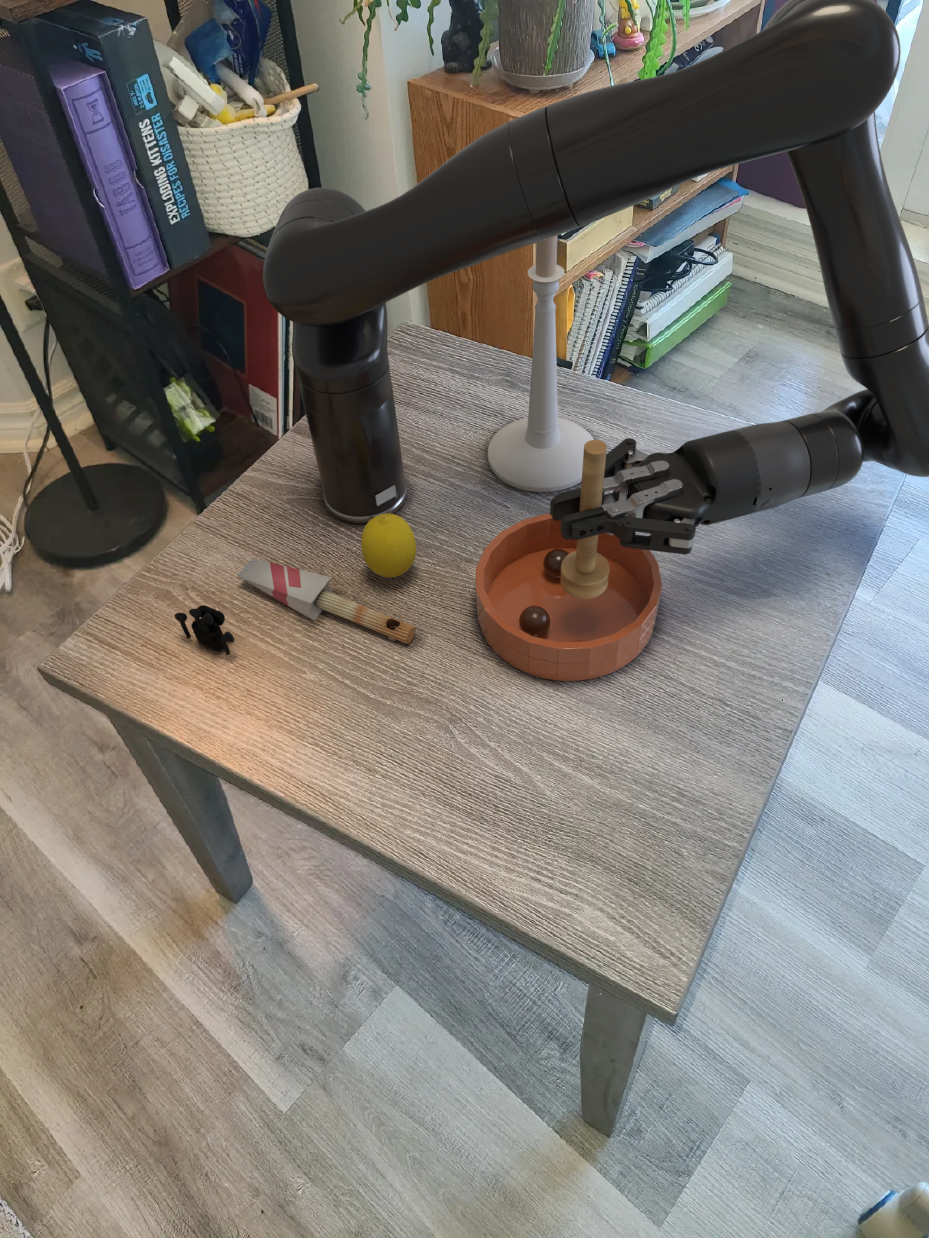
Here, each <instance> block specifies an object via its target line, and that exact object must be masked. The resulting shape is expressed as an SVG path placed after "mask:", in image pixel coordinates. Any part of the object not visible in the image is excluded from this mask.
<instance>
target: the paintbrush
mask: <svg viewBox="0 0 929 1238" xmlns="http://www.w3.org/2000/svg"><path fill="white" fill-rule="evenodd" d="M236 577H238V578H240V579H241V580H243V581H245V582H246V583H248V584H250V585H251V586H253V587H255V588H256V589H258V590H260V591H262V592H263V593H265V594H267V595H269V596H270V597H272V598H273V599H275V600H277V601H279V602H281V603H282V604H284V605H286V606H288V607H289V608H291V609H293V610H295V611H296V612H298V613H299V614H301V615H303V616H305V617H306V618H308V619H310V620H312V621H313V622H315V621H316V620H317V619H318V617H319V616H320V615H321V613H322V612H323V611H325V612H328V613H330V614H333V615H336V616H338V617H341V618H344V619H346V620H348V621H351V622H353V623H355V624H358V625H360V626H363V627H364V628H366V629H367V628H368V629H370V630H372V631H374V632H377V633H380V634H381V635H384V636H387V637H388V638H391V639H394V640H396V641H399V642H401V643H403V644H405V645H406V644H407V645H408V644H410V643H411V642H412V641H413V639H414V638H415V636H416V627H415V626H414V625H412V624H410V623H406V622H404V621H403V620H400V619H396V618H394V617H392V616H390V615H387V614H385V613H382V612H380V611H377V610H374V609H372V608H369V607H367V606H364V605H362V604H359V603H357V602H355V601H352V600H349V599H347V598H345V597H343V596H340V595H338V594H335V593H334V592H333V590H332V588H331V587H330V582H331V581H332V580H331V579H332V576H328V575H324V574H319V573H315V572H312V571H307V570H303V569H300V568H295V567H290V566H286V565H283V564H279V563H274V562H270V561H266V560H262V559H258V558H254V557H253V558H251V559H250V560H249V561H248V562H247V564H246V565H244V567H243V568H242V569H241V570H240V572H238V574H237V575H236ZM393 628H394V629H393Z"/></svg>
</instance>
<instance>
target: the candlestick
mask: <svg viewBox="0 0 929 1238" xmlns="http://www.w3.org/2000/svg"><path fill="white" fill-rule="evenodd" d="M557 255H558V236H555V237H552V238H549V239H547V240H544V241H541V242H538V243H535V264H534V265H532V266H530V267H529V269H528V270H527V276H528V277H529V279H531V280H532V284H531V286H532V291H533V292H534V293H535V294H536V298H537V301H536V303H535V305H534V309H535V312H534V326H533V327H534V328H533V341H532V342H533V343H532V357H531V370H530V371H531V373H530V386H529V398H528V399H529V401H528V416H527V417H523V418H521V419H518V420H515V421H512V422H510V423H508V424H507V425H505V426H503V427H502V428H501V429H499V430H498V431H497V432H496V433H495V434H494V435H493V436H492V438H491V439H490V441H489V444H488V447H487V461H488V465H489V468H490V470H491V471H492V472H493V474H494V475H495V476H496V477H497V478H498V479H499V480H500V481H502V482H504V483H505V484H507V485H509V486H511V487H514V488H516V489H519V490H523V491H528V492H533V493H534V492H535V493H549V492H550V493H551V492H557V491H562V490H566V489H569V488H571V487H574V486H576V485H578V484H581V482H582V468H583V454H584V445H585V443H586V442H588V441H590V440H595V439H594V437H593V436H592V434H591V433H590V432H589V431H588V430H587V429H585V428H584V427H583V426H581V425H580V424H577V423H576V422H573V421H572V420H568V419H566V418H562V417H559V407H558V405H559V403H558V402H559V401H558V368H557V362H558V361H557V328H556V327H557V326H556V309H557V305H556V304H555V301H554V299H555V295H556V293H557V292H558V291H559V289H560V282H559V280H561V279H562V278H563V277H564V276H565V274H566V273H565V269H564V268H563V267H562V266H561V265H559V264H557V259H558V256H557Z"/></svg>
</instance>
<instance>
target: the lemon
mask: <svg viewBox="0 0 929 1238" xmlns="http://www.w3.org/2000/svg"><path fill="white" fill-rule="evenodd" d="M360 543H361V544H360V545H361V546H360V548H361V553H362V557H363V559H364V563H366V565H367V566H368V568H369V569H370V570H371V571H372V572H374V573H375V574H376V575H378V576H381V577H384V578H396V577H399V576H401V575H404V574H405V573H407V572H408V571H409V569H411V567H412V566H413V564H414V562H415V559H416V553H417V541H416V537H415V533H414V531H413V529H412V527H411V526H410V525H409V523H408V522H407V521H406V520H405V519H404V518H402V517H401V516H399V515H397V514H395V513H393V514H381V515H378V516H376V517H374V518H372V519H371V520H370V521H369V522H368V523H366V524H365V526H364V527H363V531H362V534H361V541H360Z"/></svg>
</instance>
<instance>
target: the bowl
mask: <svg viewBox="0 0 929 1238" xmlns="http://www.w3.org/2000/svg"><path fill="white" fill-rule="evenodd" d="M560 523H561V520H559V521H554V520H553V518H552V517H551V515H550V512H548V513H544V514H540V515H536V516H532V517H528V518H525V519H524V518H523V519H522V520H520V521H518V522H516V523H514V524H512V525H511V526H509V527H508V528H505V529H504V530H502V531H501V532H499V534H497V535H496V536H495V538H493V540H491V542H489V544H488V545H486V546H485V548H484V550H483V551H482V553H481V556H480V559H479V561H478V563H477V565H476V568H475V594H476V612H477V613H476V615H477V620H478V622H479V628H480V631H481V632H482V635H483V637H484V638H485V641H486V642H487V643H488V646H490V647H491V649H492V650H493V651H494V652H495V654H496V655H498V656H499V657H500V658H501V659H502V660H504V661H505V662H506V663H508V664H509V665H511V666H512V667H514V668H516V669H518V670H520V671H522V672H524V673H526V674H529V675H532V676H534V677H538V678H542V679H545V680H552V681H559V682H577V681H579V682H581V681H586V680H593V679H597V678H600V677H604V676H606V675H607V676H608V675H609V674H612V673H614V672H616V671H619V670H620V669H622V668H624V667H625V666H627V665H628V664H629V663H631V662H633V660H635V658H637V657H638V656H639V655H640V653H642V651H643V650H644V649H645V647H646V646H647V645H648V643H649V641H650V639H651V637H652V635H653V632H654V629H655V623H656V619H657V617H658V611H659V605H660V599H661V595H662V589H663V580H662V576H661V570H660V565H659V562H658V560H657V559H656V558H655V556H654V554H653V552H652V551H651V550H643V549H635V548H626V547H623V546H621V544H620V539H619V538H618V537H616V536H615V535H608V534H606V533H603V534H599V535H598V544H597V553H599V554H601V555H602V556H603V557H604V558H605V559H606V560H607V562H608V564H609V578H608V585H607V588H606V590H605V591H604V592H603V593H602V594H601V595H599V596H597V597H595V598H591V599H579V598H575V597H573V596H570V595H569V594H567V593H566V592H565V591H564V589H563V588H562V586H561V583H560V578H553V577H551V576H549V575H548V574H547V573H546V572H545V570H544V567H543V561H544V558H545V556H546V554H547V553H548V552H550V551H551V550H554V549H562V550H565V551H567V552H568V553H569V554H570V553H572V552H574V551H577V540H572V539H568V540H565V539H564V538H563V537H562V535H561V533H560ZM530 606H540V607H542V608H544V609H545V610H546V611H547V612H548V614H549V616H550V626H549V628H548V630H547V631H546V632H545V633H544V634H543V635H541V636H538V637H533V636H531V635H529V634H527V633H525V632H523V631H522V630H521V628H520V625H519V618H520V615H521V613H522V611H523V610H524V609H526V608H527V607H530Z"/></svg>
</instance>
